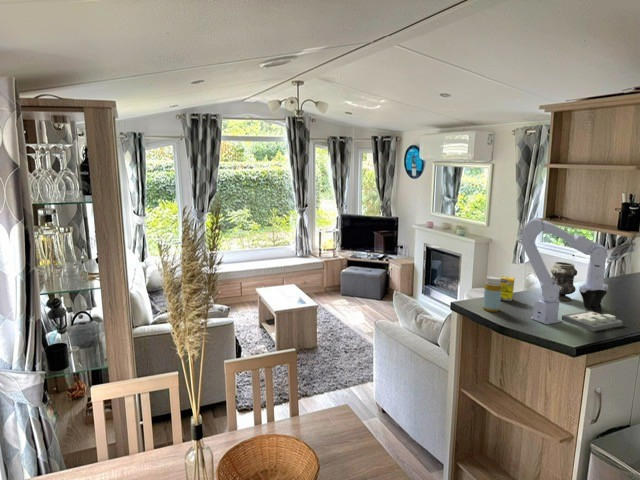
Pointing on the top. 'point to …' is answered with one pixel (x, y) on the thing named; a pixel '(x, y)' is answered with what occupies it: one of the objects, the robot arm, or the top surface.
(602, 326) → the button board
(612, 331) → the top surface
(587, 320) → the left button
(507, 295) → the supplement box
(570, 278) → the apothecary jar
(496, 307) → the bottle
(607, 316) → the right button
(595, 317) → the middle button
